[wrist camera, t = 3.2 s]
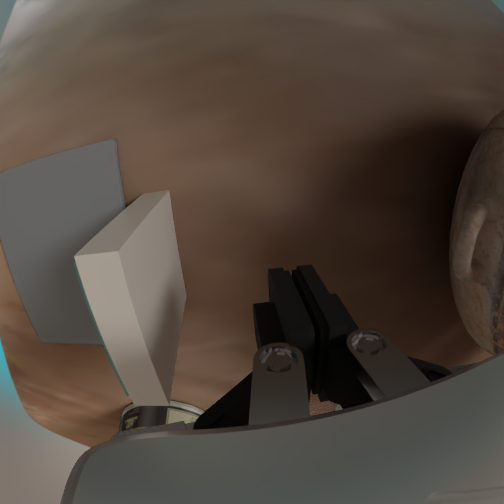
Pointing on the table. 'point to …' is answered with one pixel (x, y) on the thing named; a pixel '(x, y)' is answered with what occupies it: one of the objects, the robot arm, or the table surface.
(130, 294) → the tile
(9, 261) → the mat
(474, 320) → the cooking pot
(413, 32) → the table surface
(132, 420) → the coffee can
